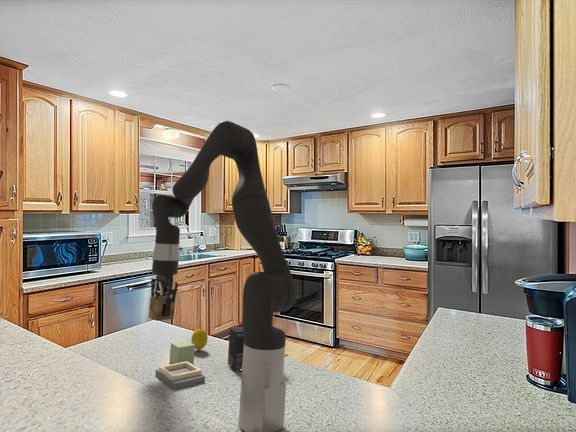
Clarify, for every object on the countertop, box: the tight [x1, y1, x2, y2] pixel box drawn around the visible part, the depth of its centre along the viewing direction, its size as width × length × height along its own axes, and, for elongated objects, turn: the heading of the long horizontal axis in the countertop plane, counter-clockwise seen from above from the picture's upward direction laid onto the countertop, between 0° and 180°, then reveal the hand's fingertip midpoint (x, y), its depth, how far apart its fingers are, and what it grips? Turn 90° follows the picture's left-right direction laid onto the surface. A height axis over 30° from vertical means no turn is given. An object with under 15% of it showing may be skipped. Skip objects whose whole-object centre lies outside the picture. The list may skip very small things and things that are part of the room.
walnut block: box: [148, 296, 176, 321], centre depth 108 cm, size 6×6×6 cm
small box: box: [227, 326, 244, 372], centre depth 113 cm, size 13×7×12 cm, turn 115°
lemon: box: [190, 327, 208, 351], centre depth 125 cm, size 6×6×8 cm
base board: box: [155, 361, 206, 390], centre depth 100 cm, size 12×9×3 cm
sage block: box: [169, 340, 196, 365], centre depth 112 cm, size 6×6×6 cm
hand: (161, 314), depth 107 cm, fingers closed on walnut block, 5 cm apart
